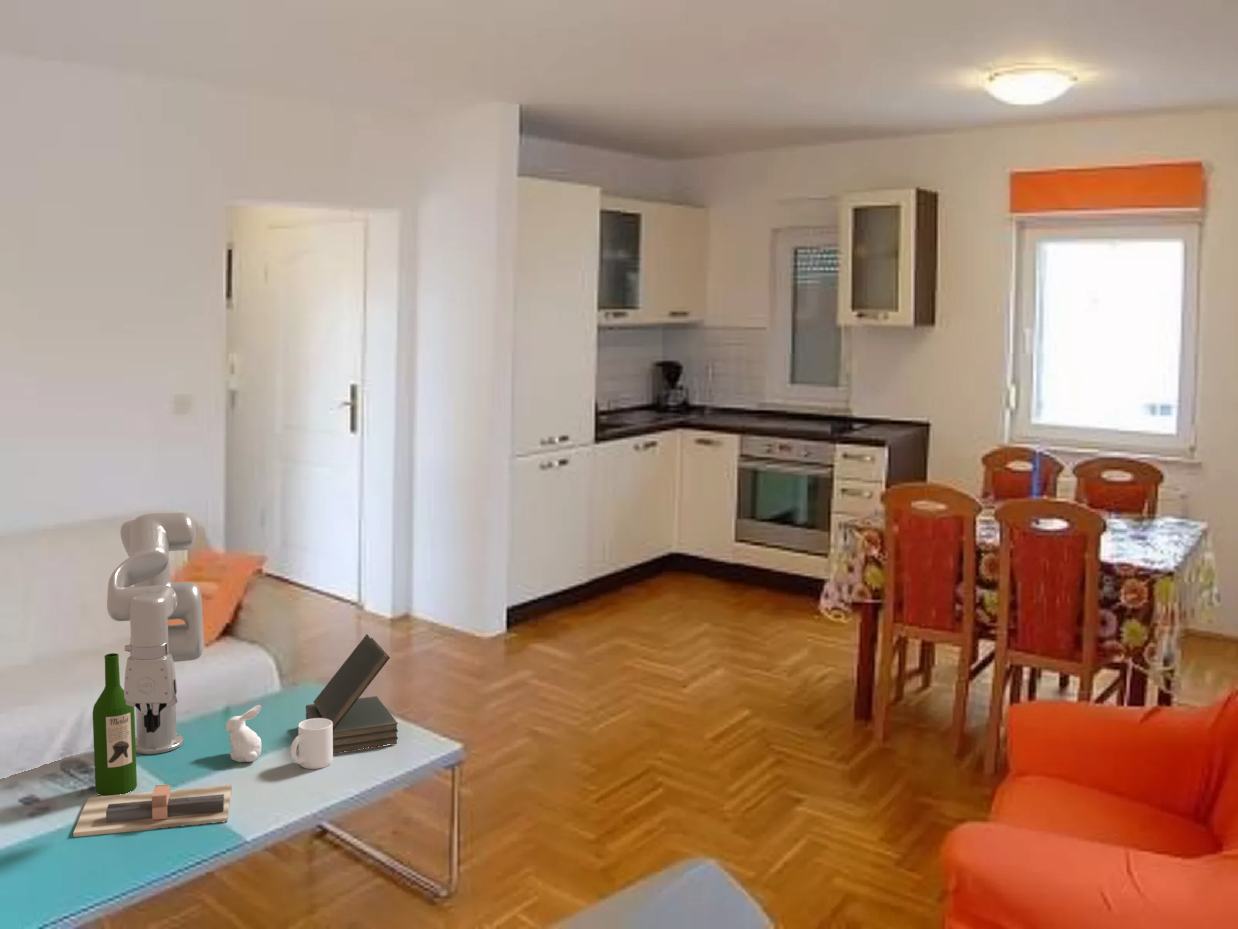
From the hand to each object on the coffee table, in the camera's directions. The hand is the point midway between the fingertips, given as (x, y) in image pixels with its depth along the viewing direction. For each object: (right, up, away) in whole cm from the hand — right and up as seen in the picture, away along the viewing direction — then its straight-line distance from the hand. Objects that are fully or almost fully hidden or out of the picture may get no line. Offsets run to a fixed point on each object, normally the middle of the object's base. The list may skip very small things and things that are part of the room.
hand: (152, 730), depth 244 cm
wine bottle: (-15, -18, +15) cm, 28 cm away
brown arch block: (+2, -19, +1) cm, 19 cm away
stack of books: (+31, -14, +52) cm, 63 cm away
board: (-1, -19, +4) cm, 20 cm away
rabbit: (+8, -16, +37) cm, 41 cm away
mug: (+26, -17, +31) cm, 44 cm away
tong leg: (+3, -18, +2) cm, 19 cm away
